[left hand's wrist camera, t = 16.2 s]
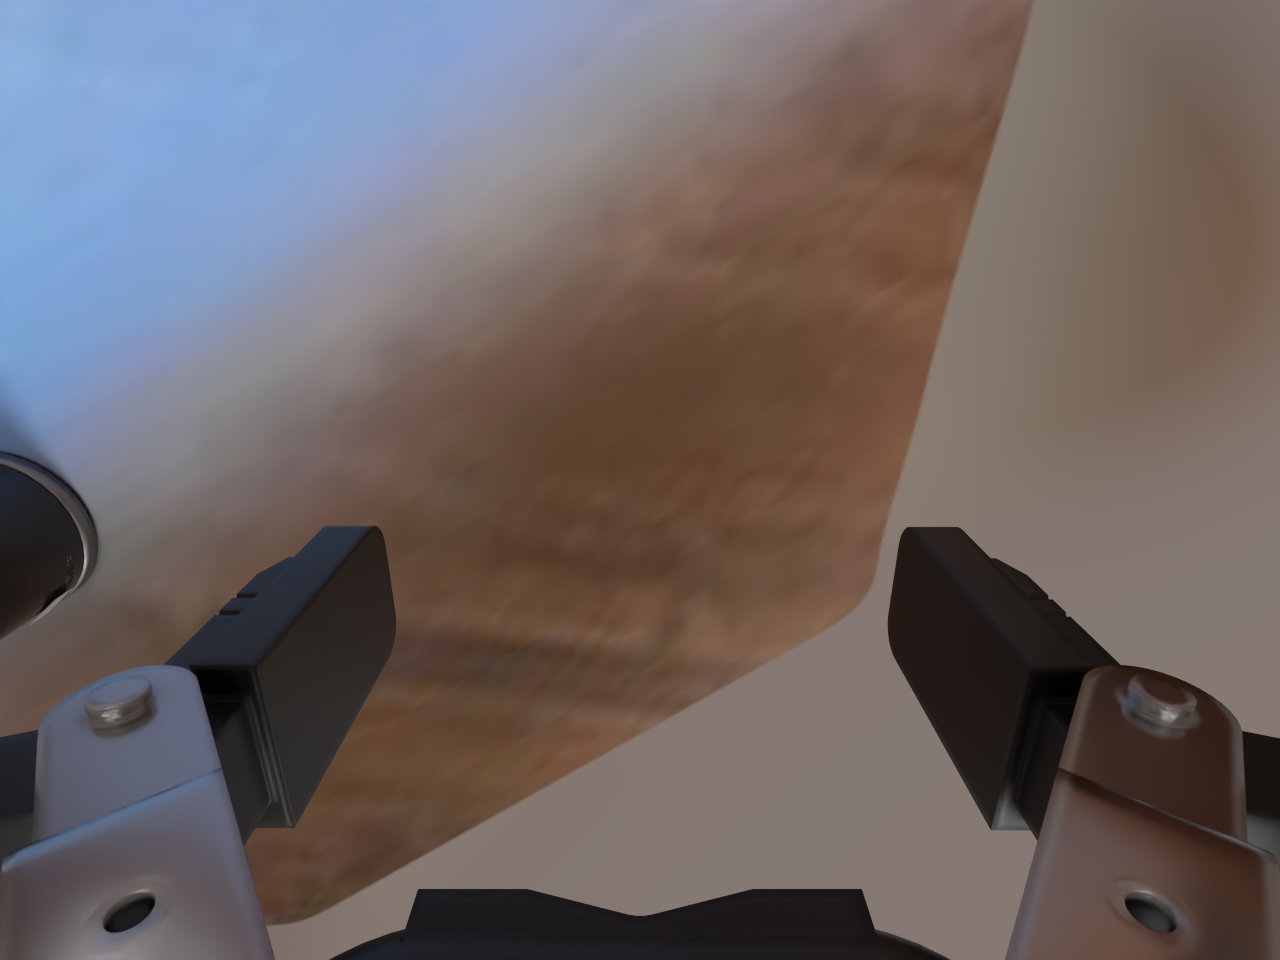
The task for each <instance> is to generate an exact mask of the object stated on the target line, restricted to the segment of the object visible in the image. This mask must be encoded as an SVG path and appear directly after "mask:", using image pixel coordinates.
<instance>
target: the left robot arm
mask: <svg viewBox="0 0 1280 960" xmlns="http://www.w3.org/2000/svg"><path fill="white" fill-rule="evenodd" d="M96 560H97V539H96V534H95V531H94V528H93V525H92V522H91V520H90V518H89V516H88V514H87V512H86V510H85V509H84V507H83V506H82V504H81V503H80V502H79V500H78V499H77V498H76V497H75V495H74V494H73V493H72V492H71V491H70V490H69V489H68V488H67V487H66V486H65V485H64V484H63V483H62V482H60V481H59V480H58V479H57V478H55V477H54V476H53V475H51V474H50V473H48V472H47V471H45V470H44V469H42V468H40V467H39V466H37V465H35V464H33V463H31V462H28V461H26V460H24V459H21V458H18V457H15V456H12V455H8V454H4V453H0V640H1V639H3V638H4V637H6V636H7V635H9V634H10V633H12V632H13V631H15V630H16V629H18V628H19V627H21V626H22V625H24V624H25V623H26V622H28V621H29V620H31V619H32V618H34V617H35V616H37V615H38V614H40V613H41V612H42V613H41V614H40V615H39V616H38V617H37V618H36V619H35V620H34V621H33V622H32V623H31V624H33V623H34V622H36V621H37V620H39V619H40V618H41V617H43V616H44V615H46V614H47V613H48V612H49V611H50V610H51V609H52V608H53V607H54V606H55V605H56V604H57V603H58V602H60V601H62V600H63V599H65V598H66V597H68V596H69V595H71V594H72V593H74V592H75V591H77V590H78V589H79V588H80V587H82V586H83V585H84V584H85V583H86V581H87V580H88V579H89V577H90V576H91V574H92V572H93V570H94V567H95V564H96ZM31 624H30V625H31ZM30 625H29V626H30ZM395 632H396V615H395V608H394V601H393V594H392V587H391V581H390V574H389V567H388V560H387V553H386V547H385V541H384V537H383V534H382V532H381V530H380V529H379V528H378V527H377V526H326V527H324V528H322V529H321V530H320V531H319V532H318V533H317V534H316V535H315V536H314V538H313V539H312V540H311V541H310V542H309V543H308V544H307V545H306V546H305V547H304V548H303V549H302V550H301V551H300V552H299V553H298V554H297V555H296V556H295V557H288V558H286V559H284V560H283V561H281V562H279V563H277V564H275V565H273V566H272V567H270V568H268V569H266V570H264V571H262V572H260V573H259V574H257V575H256V576H255V577H254V578H253V579H252V580H251V581H250V582H249V583H248V584H247V585H246V586H245V587H244V588H243V589H242V590H241V591H239V592H238V593H237V598H232V599H231V600H230V601H229V602H228V603H227V604H226V605H225V606H224V607H223V608H222V609H221V610H220V614H219V615H215V616H214V617H213V618H212V619H211V620H210V621H209V622H207V623H206V624H205V625H204V626H203V627H202V628H201V629H200V630H199V631H198V632H197V633H196V634H195V635H194V636H193V637H192V638H191V639H190V640H189V641H188V642H187V643H186V644H185V645H184V646H183V647H182V648H181V649H180V650H179V651H178V652H176V653H175V654H174V655H173V656H172V657H171V658H170V659H169V660H168V661H167V662H166V663H165V664H164V665H154V666H145V667H140V668H134V669H130V670H126V671H123V672H119V673H116V674H113V675H110V676H107V677H104V678H102V679H100V680H97V681H95V682H93V683H91V684H89V685H87V686H85V687H83V688H81V689H79V690H77V691H76V692H74V693H72V694H71V695H69V696H68V697H66V698H65V699H63V700H62V701H61V702H59V703H58V704H57V705H56V706H55V707H54V708H53V709H51V710H50V711H49V713H48V714H47V715H46V716H45V717H44V719H43V720H42V722H41V724H40V726H39V730H36V731H30V732H25V733H20V734H15V735H10V736H5V737H0V960H275V957H274V954H273V950H272V946H271V943H270V939H269V935H268V932H267V928H266V925H265V921H264V917H263V914H262V910H261V907H260V903H259V899H258V896H257V892H256V889H255V885H254V881H253V878H252V874H251V871H250V867H249V863H248V860H247V856H246V853H245V849H244V845H245V843H246V842H247V840H248V839H249V837H250V835H251V834H252V832H253V830H254V829H255V828H295V826H296V824H297V822H298V821H299V819H300V817H301V815H302V813H303V812H304V810H305V808H306V806H307V804H308V803H309V801H310V799H311V797H312V795H313V794H314V792H315V790H316V788H317V786H318V785H319V783H320V781H321V779H322V777H323V776H324V774H325V772H326V770H327V768H328V766H329V765H330V763H331V761H332V759H333V757H334V756H335V754H336V752H337V750H338V748H339V747H340V745H341V743H342V741H343V739H344V738H345V736H346V734H347V732H348V730H349V729H350V727H351V725H352V723H353V721H354V719H355V718H356V716H357V714H358V712H359V710H360V709H361V707H362V705H363V703H364V701H365V700H366V698H367V696H368V694H369V692H370V691H371V689H372V687H373V685H374V683H375V682H376V680H377V678H378V676H379V674H380V673H381V671H382V669H383V667H384V665H385V663H386V662H387V660H388V658H389V656H390V654H391V651H392V648H393V645H394V640H395ZM888 636H889V642H890V647H891V650H892V653H893V656H894V658H895V660H896V661H897V663H898V665H899V667H900V669H901V670H902V672H903V674H904V676H905V677H906V679H907V681H908V683H909V685H910V686H911V688H912V690H913V692H914V694H915V695H916V697H917V699H918V701H919V703H920V704H921V706H922V708H923V710H924V711H925V713H926V715H927V717H928V719H929V720H930V722H931V724H932V726H933V728H934V729H935V731H936V733H937V735H938V736H939V738H940V740H941V742H942V744H943V745H944V747H945V749H946V751H947V752H948V754H949V756H950V758H951V760H952V761H953V763H954V765H955V767H956V769H957V770H958V772H959V774H960V776H961V777H962V779H963V781H964V783H965V785H966V786H967V788H968V790H969V792H970V794H971V795H972V797H973V799H974V801H975V802H976V804H977V806H978V808H979V810H980V811H981V813H982V815H983V817H984V818H985V820H986V822H987V824H988V826H989V827H990V829H991V830H1031V831H1032V833H1033V834H1034V836H1035V838H1036V839H1037V841H1038V842H1037V845H1036V849H1035V853H1034V856H1033V860H1032V863H1031V867H1030V871H1029V874H1028V878H1027V881H1026V885H1025V889H1024V892H1023V896H1022V899H1021V903H1020V907H1019V910H1018V914H1017V917H1016V921H1015V925H1014V928H1013V932H1012V935H1011V939H1010V943H1009V947H1008V950H1007V954H1006V957H1005V960H1280V738H1275V737H1270V736H1265V735H1259V734H1254V733H1249V732H1244V731H1242V730H1241V726H1240V724H1239V722H1238V721H1237V719H1236V717H1235V716H1234V715H1233V714H1232V713H1231V712H1230V710H1229V709H1227V708H1226V707H1225V706H1224V705H1223V704H1222V703H1221V702H1219V701H1218V700H1216V699H1215V698H1214V697H1212V696H1211V695H1209V694H1208V693H1206V692H1204V691H1203V690H1201V689H1199V688H1197V687H1195V686H1193V685H1191V684H1189V683H1187V682H1185V681H1183V680H1180V679H1178V678H1175V677H1173V676H1170V675H1167V674H1164V673H1161V672H1157V671H1154V670H1150V669H1146V668H1140V667H1135V666H1126V665H1120V664H1119V663H1118V662H1117V661H1116V660H1115V659H1114V658H1113V657H1112V656H1111V655H1110V654H1109V653H1108V652H1107V651H1106V650H1104V648H1102V647H1101V646H1100V645H1099V644H1098V643H1097V642H1096V641H1095V640H1094V639H1093V638H1092V637H1091V636H1090V635H1089V634H1088V633H1087V632H1086V631H1085V630H1084V629H1083V628H1082V627H1081V626H1080V625H1078V624H1077V623H1076V622H1075V621H1074V620H1073V619H1072V618H1071V617H1066V612H1065V611H1064V610H1063V609H1062V608H1061V607H1060V606H1059V605H1058V604H1057V603H1056V602H1054V600H1049V599H1048V595H1047V594H1046V593H1045V592H1044V591H1043V590H1042V589H1041V588H1040V587H1039V586H1038V585H1037V584H1036V583H1035V582H1034V581H1033V580H1032V579H1031V578H1030V577H1029V576H1027V575H1026V574H1024V573H1022V572H1020V571H1018V570H1016V569H1015V568H1013V567H1011V566H1009V565H1007V564H1005V563H1003V562H1002V561H1000V560H998V559H996V558H990V557H989V556H988V555H987V554H986V553H985V552H984V551H983V550H982V549H981V548H980V547H979V546H978V545H977V544H976V543H975V542H974V541H973V540H972V539H971V538H970V537H969V536H968V535H967V534H966V533H965V532H964V531H963V530H962V529H961V528H958V527H908V528H906V529H905V530H904V531H903V533H902V535H901V538H900V542H899V547H898V554H897V561H896V567H895V574H894V581H893V588H892V594H891V601H890V607H889V614H888ZM330 960H950V959H948V958H947V957H945V956H943V955H941V954H939V953H936V952H934V951H932V950H930V949H928V948H926V947H924V946H922V945H920V944H918V943H915V942H912V941H910V940H907V939H904V938H901V937H899V936H896V935H893V934H890V933H887V932H883V931H880V930H876V929H874V925H873V922H872V919H871V916H870V913H869V910H868V907H867V904H866V901H865V898H864V895H863V891H862V889H752V890H747V891H743V892H740V893H736V894H732V895H728V896H724V897H720V898H716V899H712V900H708V901H704V902H700V903H696V904H692V905H688V906H684V907H680V908H676V909H672V910H669V911H664V912H660V913H657V914H653V915H647V916H633V915H627V914H623V913H619V912H615V911H612V910H608V909H604V908H600V907H596V906H592V905H588V904H584V903H580V902H576V901H572V900H568V899H564V898H560V897H556V896H552V895H548V894H544V893H541V892H537V891H533V890H529V889H418V891H417V895H416V898H415V901H414V904H413V907H412V910H411V913H410V916H409V919H408V923H407V925H406V929H404V930H400V931H397V932H393V933H390V934H387V935H384V936H382V937H379V938H376V939H373V940H370V941H368V942H365V943H362V944H360V945H358V946H356V947H354V948H352V949H350V950H348V951H346V952H344V953H342V954H339V955H337V956H335V957H333V958H332V959H330Z"/></svg>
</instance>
